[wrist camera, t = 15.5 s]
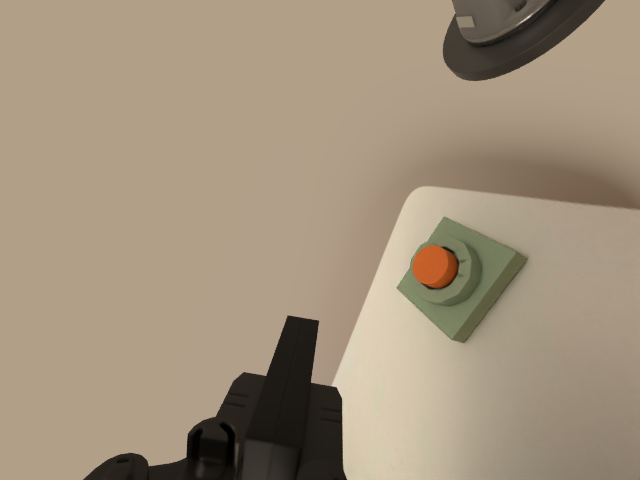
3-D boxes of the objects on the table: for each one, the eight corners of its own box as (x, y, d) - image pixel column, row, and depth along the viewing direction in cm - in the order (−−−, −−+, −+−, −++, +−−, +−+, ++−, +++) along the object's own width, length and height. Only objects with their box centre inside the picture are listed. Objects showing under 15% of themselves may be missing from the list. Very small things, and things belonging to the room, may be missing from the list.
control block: (454, 223, 35) (434, 210, 33) (527, 259, 27) (507, 245, 25) (407, 292, 37) (386, 284, 35) (463, 343, 29) (440, 337, 27)
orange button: (436, 244, 31) (426, 238, 30) (466, 261, 28) (456, 256, 27) (415, 275, 32) (405, 270, 31) (442, 296, 29) (431, 291, 28)
